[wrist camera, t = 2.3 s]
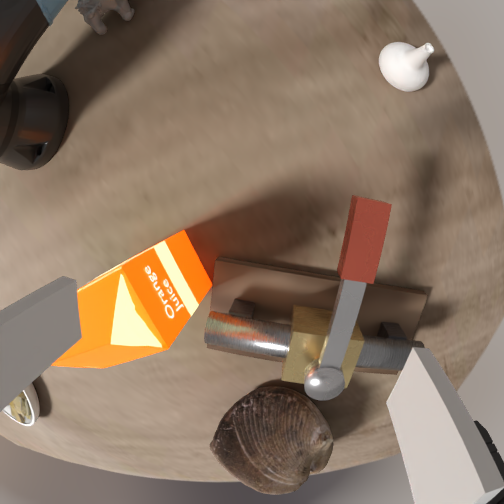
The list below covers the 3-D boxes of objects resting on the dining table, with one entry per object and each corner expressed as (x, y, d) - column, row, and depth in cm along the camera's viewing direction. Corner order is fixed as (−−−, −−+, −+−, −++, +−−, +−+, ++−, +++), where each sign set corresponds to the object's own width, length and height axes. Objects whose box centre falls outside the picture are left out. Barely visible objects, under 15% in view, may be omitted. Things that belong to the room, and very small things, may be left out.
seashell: (364, 431, 30) (278, 517, 23) (335, 450, 42) (273, 509, 35) (274, 359, 39) (187, 430, 32) (271, 397, 50) (208, 449, 43)
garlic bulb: (365, 57, 27) (383, 30, 20) (403, 42, 26) (426, 16, 18) (395, 101, 28) (421, 84, 21) (431, 83, 27) (461, 66, 19)
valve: (220, 286, 35) (198, 322, 26) (413, 316, 33) (441, 355, 24) (216, 330, 37) (195, 373, 28) (398, 356, 35) (418, 400, 26)
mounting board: (218, 256, 36) (215, 260, 34) (423, 290, 33) (427, 295, 32) (209, 342, 39) (206, 347, 38) (394, 368, 37) (396, 374, 35)
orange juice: (129, 257, 37) (20, 324, 18) (184, 228, 35) (79, 290, 16) (158, 308, 39) (72, 403, 20) (213, 285, 37) (143, 391, 18)
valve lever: (345, 193, 22) (351, 195, 20) (389, 203, 21) (397, 206, 20) (300, 384, 27) (300, 398, 25) (336, 388, 26) (338, 402, 24)
